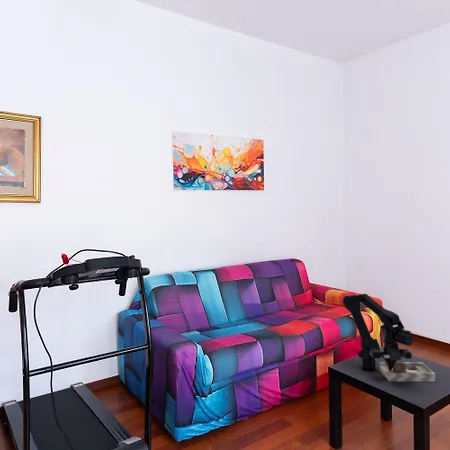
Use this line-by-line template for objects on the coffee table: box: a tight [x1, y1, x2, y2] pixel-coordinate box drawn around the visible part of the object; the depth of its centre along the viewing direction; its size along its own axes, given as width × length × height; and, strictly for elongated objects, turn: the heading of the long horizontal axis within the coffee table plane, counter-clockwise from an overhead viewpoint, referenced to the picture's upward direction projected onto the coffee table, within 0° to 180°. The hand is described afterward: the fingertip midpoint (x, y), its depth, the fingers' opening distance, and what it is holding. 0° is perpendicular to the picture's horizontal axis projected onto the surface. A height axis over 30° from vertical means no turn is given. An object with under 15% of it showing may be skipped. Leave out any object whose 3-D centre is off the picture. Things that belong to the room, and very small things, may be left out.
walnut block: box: [393, 361, 406, 373], centre depth 195 cm, size 4×4×4 cm
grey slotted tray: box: [378, 361, 436, 383], centre depth 198 cm, size 22×13×4 cm, turn 89°
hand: (389, 370), depth 195 cm, fingers closed
